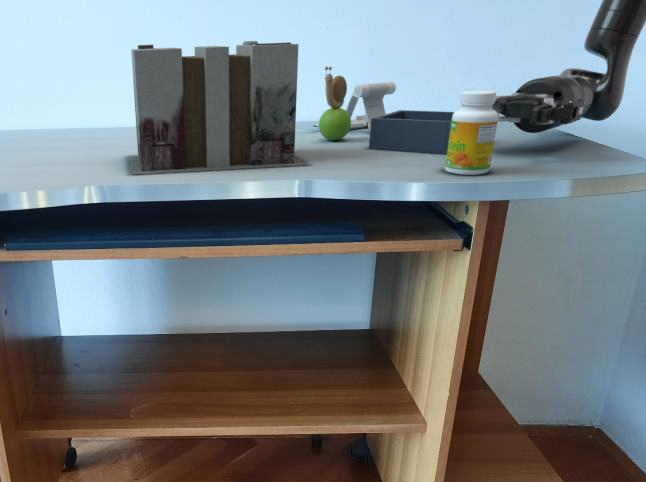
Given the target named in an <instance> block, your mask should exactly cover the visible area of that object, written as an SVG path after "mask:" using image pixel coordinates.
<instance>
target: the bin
mask: <svg viewBox="0 0 646 482" xmlns="http://www.w3.org/2000/svg"><path fill="white" fill-rule="evenodd" d="M455 112H456V111H441V110H440V111H434V110H410V109H409V110H408V109H407V110H406V109H399V110H395V111H393V112H392V111H391V112H388V113H385V115H382V116H378V117H375V118H372V119H371V128H370V132H369V140H368V141H369V142H368V143H369V144H368V149H369V150H383V151H398V152H409V153H410V152H411V153H425V154H427V153H428V154H441V155H442V154H443V155H447V150H448V143H449V136H450V129H451V122H452V116H453V114H454V113H455Z"/></svg>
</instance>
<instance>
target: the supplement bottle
mask: <svg viewBox="0 0 646 482" xmlns="http://www.w3.org/2000/svg"><path fill="white" fill-rule="evenodd" d="M496 96H497V92H496V91H494V90H465V91H461V94H460V100H459V101H460V103H459V104H460V105H461V107H460V108H459V109H457V110H455V111H454V112H455V113H454V114H453V116H452V122H451V129H450V136H449V143H448V150H447V154H446V157H445V166H444V170H445V171H446V173H449V174H454V175H462V176H479V175H484V174H487V173H488V172H489V171H490V167H491V163H492V156H493V150H494V145H495V138H496V133H497V127H498V113H497V112H496V111H495V110H492V105H493V104H494V102H495V98H496Z"/></svg>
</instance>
